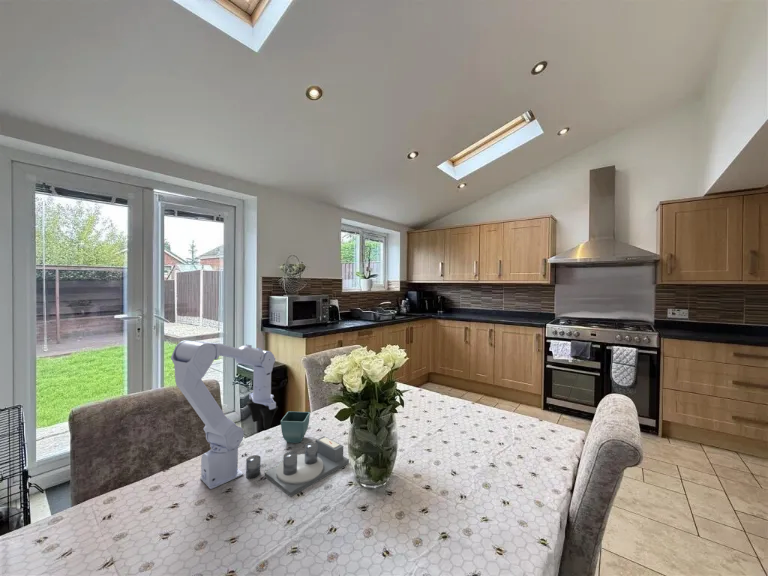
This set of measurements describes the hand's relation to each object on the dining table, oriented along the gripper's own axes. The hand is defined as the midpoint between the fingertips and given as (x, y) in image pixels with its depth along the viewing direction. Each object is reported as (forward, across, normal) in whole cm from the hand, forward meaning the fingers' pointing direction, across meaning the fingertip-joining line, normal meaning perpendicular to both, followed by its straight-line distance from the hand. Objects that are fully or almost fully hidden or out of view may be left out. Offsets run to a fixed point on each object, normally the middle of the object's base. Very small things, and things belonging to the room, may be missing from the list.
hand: (261, 424), depth 109 cm
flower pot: (+10, -1, -13) cm, 16 cm away
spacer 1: (+10, -10, +8) cm, 16 cm away
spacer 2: (+8, -20, +2) cm, 21 cm away
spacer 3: (+8, -20, -6) cm, 22 cm away
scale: (+10, -20, -5) cm, 23 cm away
